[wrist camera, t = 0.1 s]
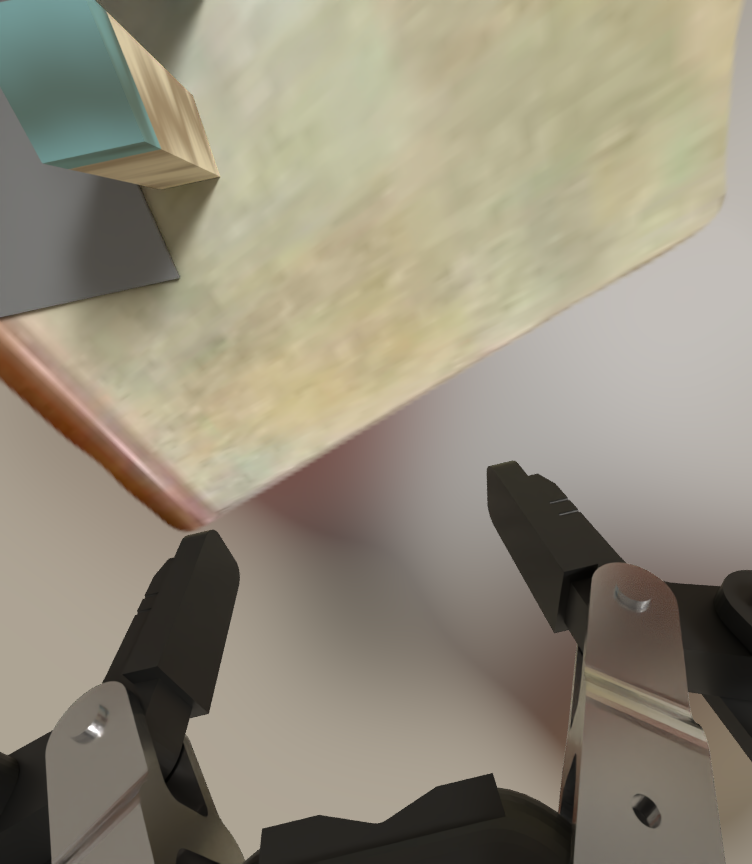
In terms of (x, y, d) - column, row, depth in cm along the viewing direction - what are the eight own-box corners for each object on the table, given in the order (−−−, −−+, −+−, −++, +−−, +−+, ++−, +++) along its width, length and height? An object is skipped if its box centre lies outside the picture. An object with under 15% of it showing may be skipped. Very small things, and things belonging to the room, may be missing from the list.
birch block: (127, 109, 26) (-42, 11, 14) (192, 95, 26) (79, -15, 14) (160, 189, 29) (42, 163, 17) (220, 176, 29) (144, 141, 17)
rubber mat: (-226, 40, 23) (-235, 37, 22) (48, -18, 23) (44, -21, 22) (-14, 320, 32) (-17, 321, 32) (180, 277, 32) (178, 278, 32)
